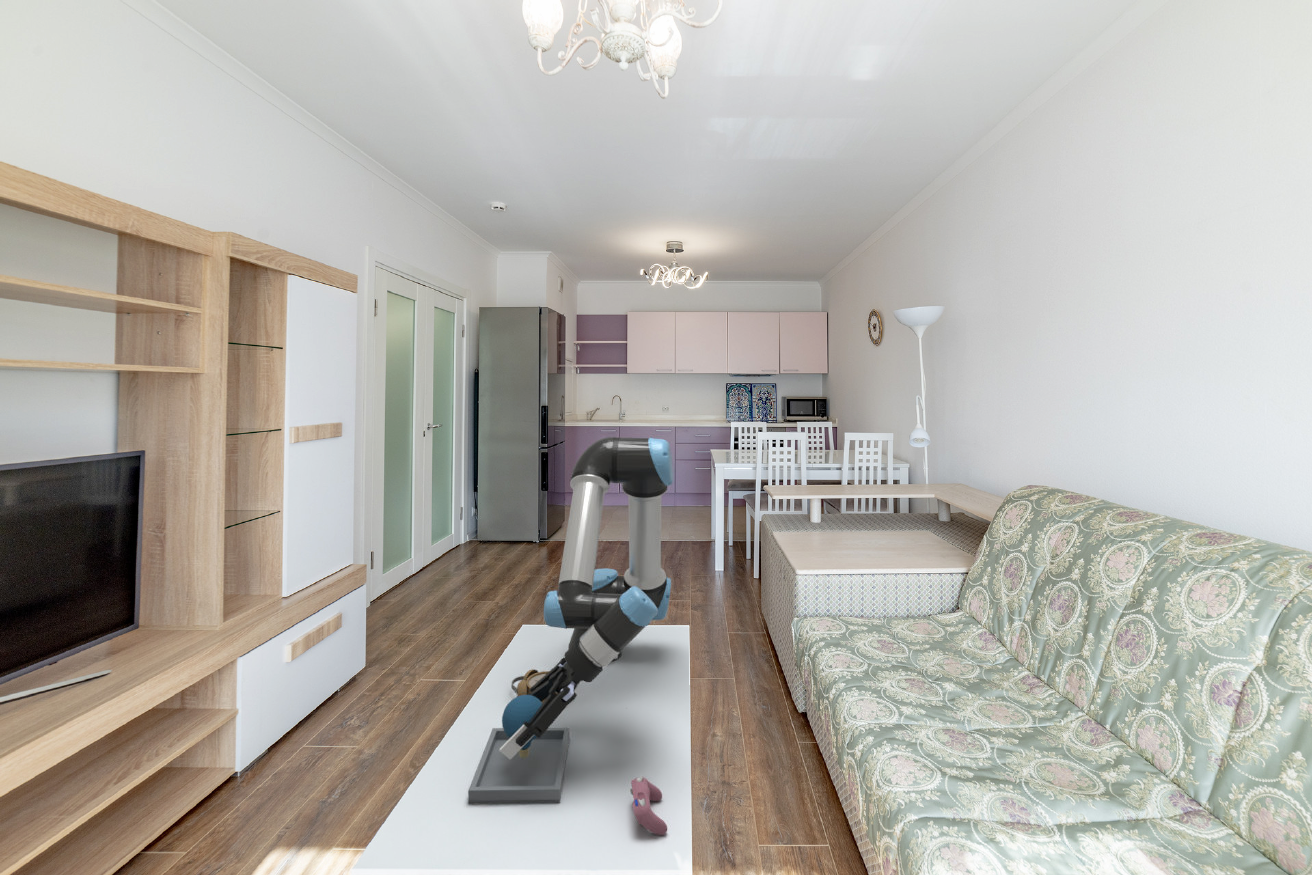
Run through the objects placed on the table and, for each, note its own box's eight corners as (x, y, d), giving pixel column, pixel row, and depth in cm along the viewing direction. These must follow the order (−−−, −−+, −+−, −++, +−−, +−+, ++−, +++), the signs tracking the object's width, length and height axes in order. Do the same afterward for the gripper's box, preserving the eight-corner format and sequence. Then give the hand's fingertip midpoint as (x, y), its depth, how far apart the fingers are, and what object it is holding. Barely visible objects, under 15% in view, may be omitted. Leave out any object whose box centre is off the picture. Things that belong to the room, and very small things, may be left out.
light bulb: (535, 773, 111) (536, 711, 110) (493, 766, 113) (494, 705, 112) (552, 747, 119) (553, 689, 118) (513, 741, 121) (513, 684, 120)
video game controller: (641, 806, 108) (624, 774, 108) (663, 795, 109) (647, 762, 108) (645, 847, 99) (626, 811, 98) (670, 834, 99) (652, 798, 98)
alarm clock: (567, 697, 139) (506, 681, 140) (563, 716, 139) (502, 700, 141) (578, 675, 150) (521, 660, 151) (575, 693, 150) (518, 678, 152)
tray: (492, 739, 126) (492, 728, 125) (569, 738, 126) (569, 727, 126) (468, 803, 106) (468, 790, 105) (559, 802, 107) (559, 789, 106)
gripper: (610, 692, 108) (518, 787, 105) (598, 644, 128) (521, 723, 126) (581, 665, 106) (487, 761, 104) (574, 621, 127) (495, 700, 125)
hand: (506, 740), depth 115 cm, fingers closed on light bulb, 8 cm apart
